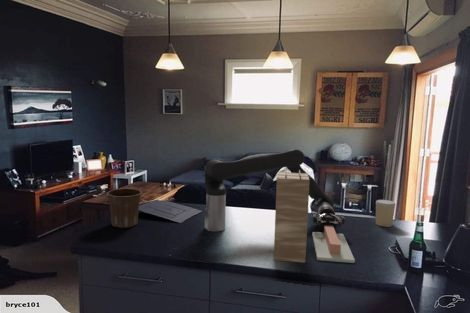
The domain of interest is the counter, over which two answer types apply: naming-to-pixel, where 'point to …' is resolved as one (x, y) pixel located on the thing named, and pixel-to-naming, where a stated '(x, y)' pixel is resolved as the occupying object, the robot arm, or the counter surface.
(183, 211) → the papers
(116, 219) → the plant pot
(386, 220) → the coffee cup
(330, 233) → the bar
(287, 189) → the stand
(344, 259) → the board
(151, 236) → the counter surface
